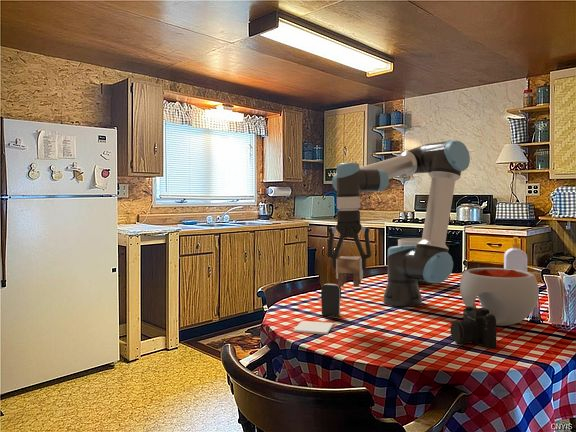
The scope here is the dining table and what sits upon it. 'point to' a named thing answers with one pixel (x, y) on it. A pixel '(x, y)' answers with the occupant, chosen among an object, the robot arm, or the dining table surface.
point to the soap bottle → (515, 257)
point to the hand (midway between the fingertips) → (349, 278)
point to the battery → (330, 299)
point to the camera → (475, 328)
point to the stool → (348, 269)
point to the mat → (313, 327)
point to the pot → (501, 292)
